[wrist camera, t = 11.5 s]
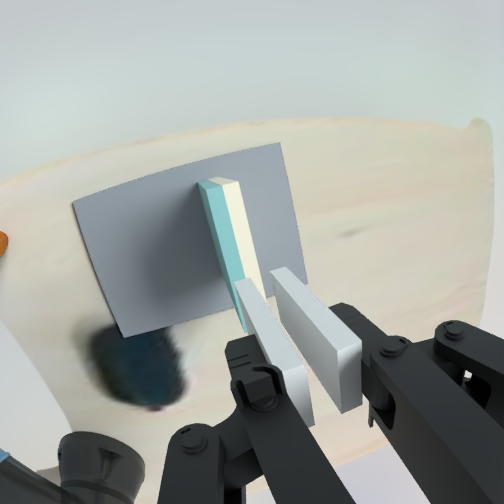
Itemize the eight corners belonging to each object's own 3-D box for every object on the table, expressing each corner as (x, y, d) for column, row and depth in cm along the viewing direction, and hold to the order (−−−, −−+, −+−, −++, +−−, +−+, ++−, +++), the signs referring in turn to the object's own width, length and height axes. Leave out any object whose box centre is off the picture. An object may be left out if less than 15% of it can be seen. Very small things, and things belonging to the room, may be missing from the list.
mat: (124, 335, 32) (124, 337, 31) (74, 200, 27) (72, 201, 26) (306, 282, 35) (307, 283, 34) (278, 142, 30) (279, 142, 30)
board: (222, 275, 32) (244, 332, 21) (197, 181, 29) (205, 189, 18) (240, 269, 32) (272, 324, 21) (217, 176, 29) (238, 181, 18)
